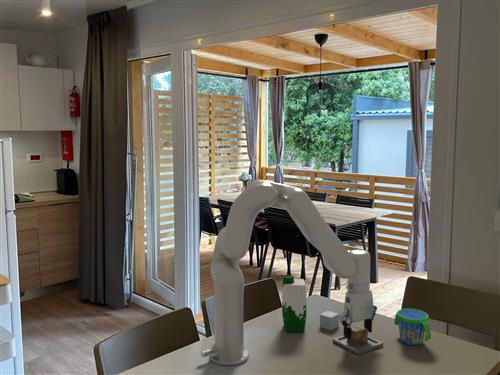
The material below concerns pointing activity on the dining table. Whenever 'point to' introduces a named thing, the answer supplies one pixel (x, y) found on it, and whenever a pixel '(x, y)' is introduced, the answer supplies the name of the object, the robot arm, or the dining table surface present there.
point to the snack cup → (413, 326)
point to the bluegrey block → (329, 320)
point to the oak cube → (358, 335)
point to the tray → (358, 350)
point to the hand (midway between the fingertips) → (357, 334)
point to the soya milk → (294, 304)
